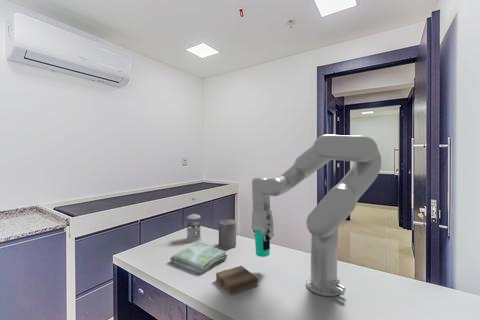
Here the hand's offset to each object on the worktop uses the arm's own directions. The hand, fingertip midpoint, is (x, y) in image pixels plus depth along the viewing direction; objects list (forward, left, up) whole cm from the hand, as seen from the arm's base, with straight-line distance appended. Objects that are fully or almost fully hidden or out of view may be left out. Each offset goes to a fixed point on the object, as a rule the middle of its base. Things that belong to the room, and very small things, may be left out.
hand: (262, 247), depth 103 cm
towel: (+24, +20, -11) cm, 33 cm away
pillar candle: (+33, -1, -11) cm, 34 cm away
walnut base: (-2, +14, -11) cm, 18 cm away
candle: (0, 0, -3) cm, 3 cm away
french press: (+52, +11, -11) cm, 54 cm away
